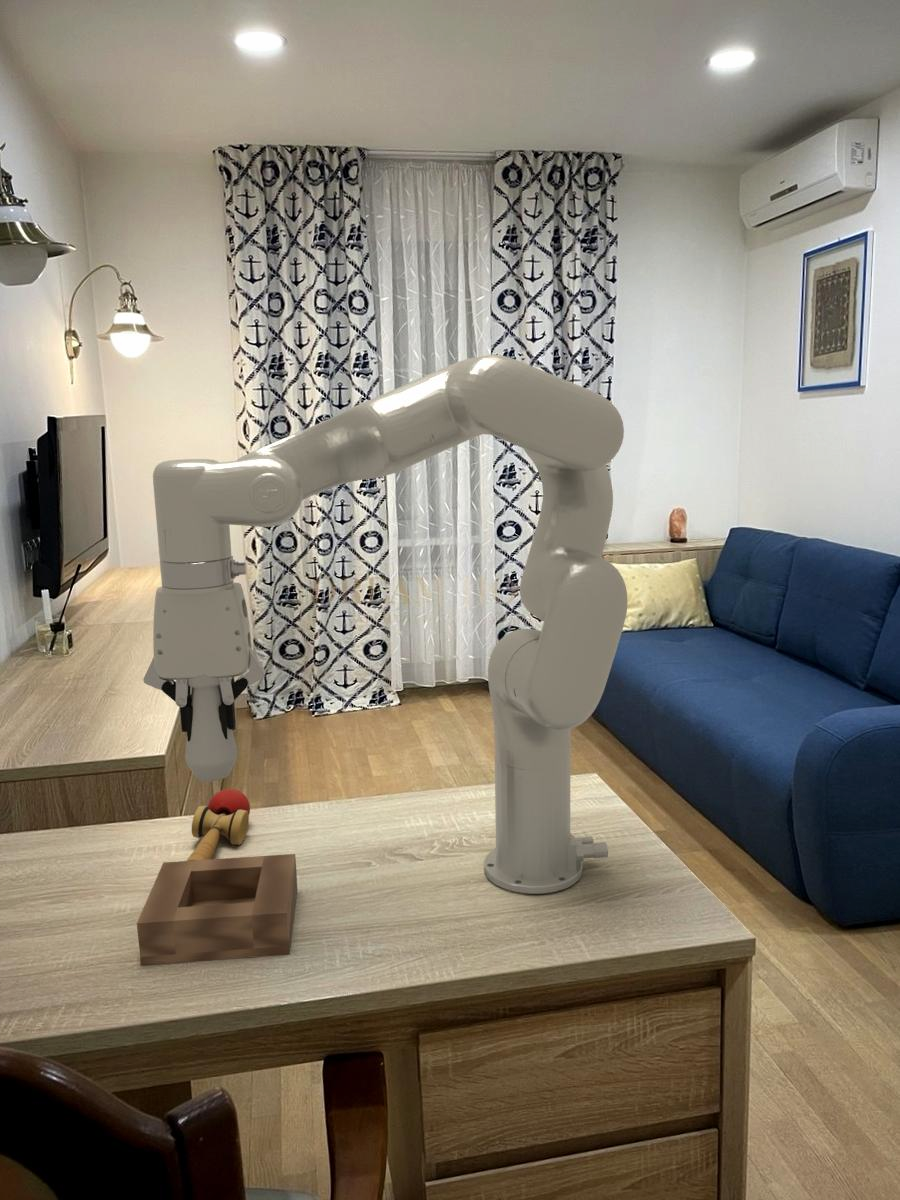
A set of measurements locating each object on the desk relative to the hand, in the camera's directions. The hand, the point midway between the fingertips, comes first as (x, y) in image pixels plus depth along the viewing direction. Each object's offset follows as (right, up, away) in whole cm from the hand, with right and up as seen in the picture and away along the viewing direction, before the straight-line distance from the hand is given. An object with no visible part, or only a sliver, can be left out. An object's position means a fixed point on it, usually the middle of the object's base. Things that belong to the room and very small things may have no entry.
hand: (209, 735), depth 105 cm
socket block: (+1, -23, +5) cm, 23 cm away
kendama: (-5, -19, +24) cm, 32 cm away
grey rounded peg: (0, -5, +1) cm, 5 cm away
